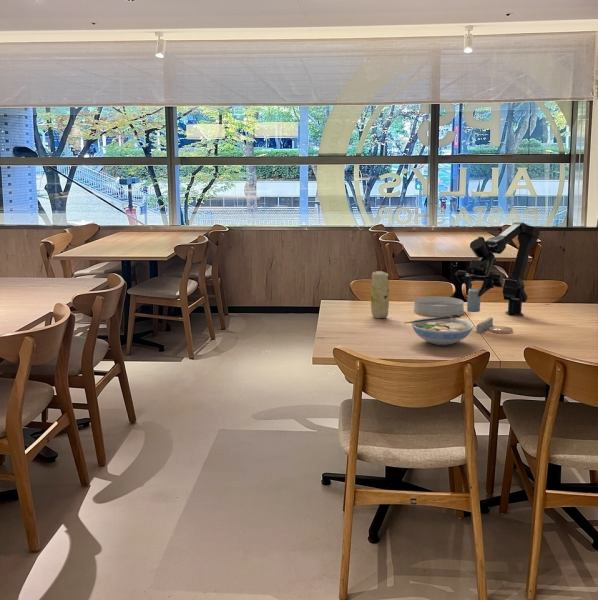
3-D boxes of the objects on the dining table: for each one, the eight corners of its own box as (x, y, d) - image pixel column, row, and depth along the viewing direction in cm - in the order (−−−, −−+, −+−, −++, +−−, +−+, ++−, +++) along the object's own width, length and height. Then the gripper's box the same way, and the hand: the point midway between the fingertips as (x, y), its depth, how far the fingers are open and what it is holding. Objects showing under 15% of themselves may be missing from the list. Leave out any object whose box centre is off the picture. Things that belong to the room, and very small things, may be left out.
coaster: (486, 328, 274) (486, 326, 273) (509, 328, 273) (509, 326, 273) (492, 333, 265) (492, 331, 265) (515, 333, 265) (515, 331, 264)
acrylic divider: (489, 324, 279) (490, 317, 279) (492, 324, 279) (492, 317, 278) (476, 332, 266) (476, 325, 266) (479, 332, 266) (479, 325, 265)
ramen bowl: (430, 354, 236) (431, 332, 234) (396, 339, 256) (396, 318, 255) (488, 346, 246) (489, 325, 244) (450, 332, 266) (451, 312, 265)
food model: (392, 317, 293) (393, 272, 289) (381, 320, 289) (381, 273, 285) (376, 314, 300) (377, 269, 296) (365, 316, 296) (366, 271, 293)
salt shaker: (465, 309, 277) (466, 287, 275) (478, 309, 276) (479, 287, 275) (468, 312, 272) (469, 290, 270) (481, 312, 272) (482, 290, 270)
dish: (446, 305, 320) (446, 294, 319) (473, 314, 299) (474, 303, 298) (404, 309, 312) (405, 298, 311) (430, 318, 292) (430, 307, 291)
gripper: (457, 250, 278) (445, 281, 272) (502, 254, 267) (490, 285, 261) (465, 267, 286) (453, 297, 279) (508, 271, 275) (497, 302, 268)
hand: (472, 295), depth 272 cm, fingers closed on salt shaker, 5 cm apart
